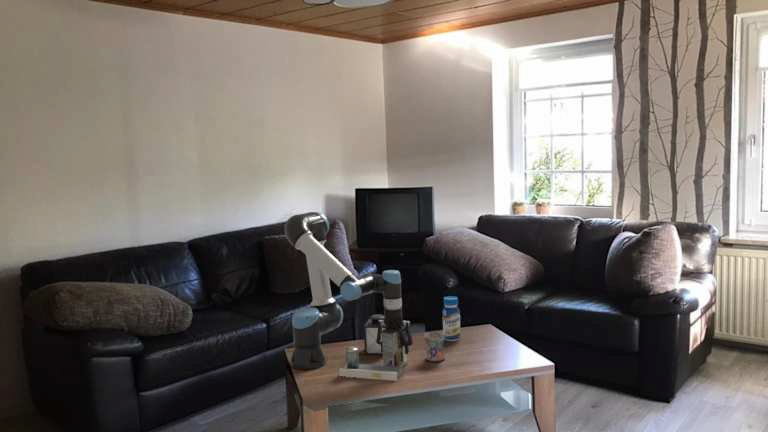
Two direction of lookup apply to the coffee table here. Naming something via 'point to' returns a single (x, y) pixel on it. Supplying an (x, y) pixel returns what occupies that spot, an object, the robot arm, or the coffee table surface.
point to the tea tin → (352, 357)
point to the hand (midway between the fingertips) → (395, 360)
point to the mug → (434, 346)
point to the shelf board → (372, 372)
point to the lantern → (372, 334)
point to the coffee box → (393, 348)
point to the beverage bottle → (451, 319)
